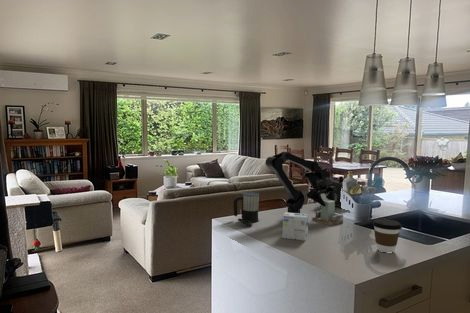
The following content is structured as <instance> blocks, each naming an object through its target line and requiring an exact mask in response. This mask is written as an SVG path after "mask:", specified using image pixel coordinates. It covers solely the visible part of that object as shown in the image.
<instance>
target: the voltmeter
mask: <svg viewBox="0 0 470 313" xmlns="http://www.w3.org/2000/svg"><path fill="white" fill-rule="evenodd" d="M332 180H333V183H332V185H328V186H327V188H326V190H327V189H328V188H329V187H331V186H334V187H336V189H337V190H336V191H335V194H337V201H335V203H336V204H335V207H336V206H337V207H339V208H340V207H341V202H340V191H341V187H342V182H343V181H344V176H341V175H339V179H332Z"/></svg>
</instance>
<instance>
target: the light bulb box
mask: <svg viewBox="0 0 470 313" xmlns="http://www.w3.org/2000/svg"><path fill="white" fill-rule="evenodd" d="M308 223H309V215H308V213H300V214H299V213H288V211H285V213H283V215H282V234H281V235H282V237H281V238H282V239H286V238H287V239H288V240H295V239H296V241H303V242H304V241H306V240H307V238H308V232H309V231H308V228H309V224H308Z"/></svg>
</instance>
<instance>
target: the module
mask: <svg viewBox="0 0 470 313" xmlns="http://www.w3.org/2000/svg"><path fill="white" fill-rule="evenodd" d="M323 201H324V203H325V205H326V206H325V207H324V206H322V205H321V204H320V211H321V219H324V220H327V221H329V220H331V218H332V216H334V212H335V207H336V205H335V201H332V200H328V199H326V200H323Z"/></svg>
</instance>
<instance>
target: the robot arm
mask: <svg viewBox="0 0 470 313" xmlns="http://www.w3.org/2000/svg"><path fill="white" fill-rule="evenodd" d="M286 161H288V162H291V163H294V164H296V165H299V166H301V167H302V169H304V170H306V171H308V172H306V171H305V172H304V173H303V177H302V179H307V181H308V183H309V184H310V190H309V191H308V192H307V193H306V198H307V199H308V200H310V199H311V200H312V201H314V202H316V203H317V204H319V205H320V206H321V205H322V206H324V207H325V206H326V205H325V203H324V201H323V199H322V197H321V194H325V195H326V198H327V199H328V200H332V201H335V199H334V192H335V191H336V190H337V189H336V187H334V186H331V187H329V188H328V189H327V190H326V188H327V186H328V185H332V183H333V180H334V179H332V177H331V174H330V172H329V170H328V168H327V167H322V168H321V167H320V165H319V162H318V161H314V160H309V159H305V158H302V157H300V156H298V155H295V154H293V153H290V152H289V151H282V152H280V153H277V154H275V155H272V156H268V157H267V158H266V160H265V161H264V163H265V165H266V167H267V168H268V169H269V170H270V171H272V172H273V173H274V174H275V176H276V177H277V178H278V180H279V182H280V183H281V185H282V186H283V188H284V189H285V191H286V192H287V198H288V199H287V200H285V203H284V204H285V206H286V207H287V212H288V213H299V214H301V209H303V207H304V204H305V200H306V198H305V195H304V193H303V191H302V190H300V189H297V188H295V186H294V185H293V183H292V181H291V180H290V179H289V177H288V176H287V174H286V172H285V171H284V166H283V165H284V164H285V163H286ZM335 204H336V203H335Z"/></svg>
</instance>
